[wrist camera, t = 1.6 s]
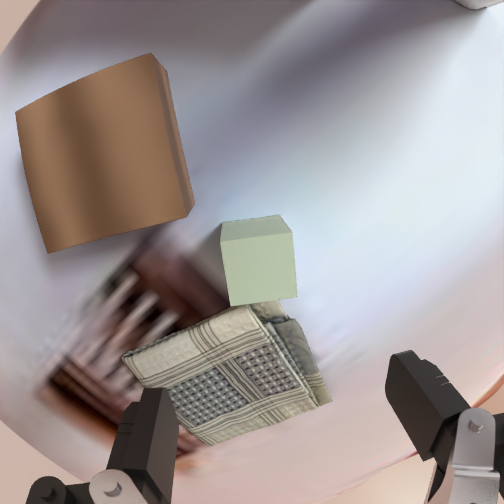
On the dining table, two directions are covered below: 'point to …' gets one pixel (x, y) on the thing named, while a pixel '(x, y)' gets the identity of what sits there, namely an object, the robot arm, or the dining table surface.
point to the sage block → (258, 260)
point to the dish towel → (234, 371)
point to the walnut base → (105, 155)
